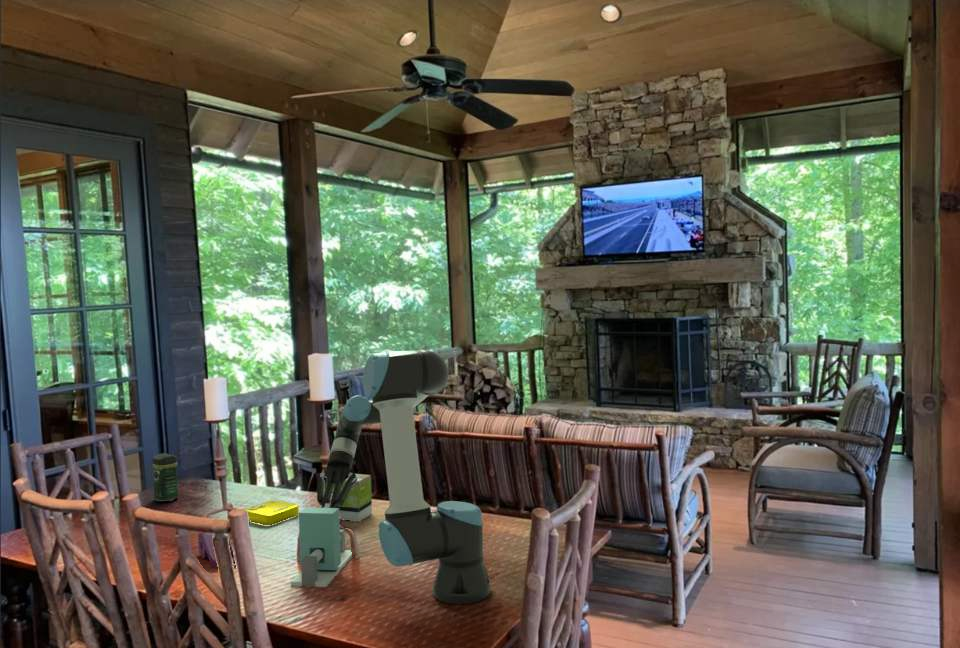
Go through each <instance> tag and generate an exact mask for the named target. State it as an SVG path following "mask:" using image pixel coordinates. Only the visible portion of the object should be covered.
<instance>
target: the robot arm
mask: <svg viewBox="0 0 960 648" xmlns="http://www.w3.org/2000/svg"><path fill="white" fill-rule="evenodd" d="M449 375H450V372H449V368H448V365H447V363H446V361H445V360H444V359H443V358H442V357H441V356H440V355H439V354H438V353H436V352H434V351H431V350H427V349H416V350H394V351H393V350H391V351H389V350H386V351H380V352H374V353H372V354H370V355H369V356H368V358H367V360H366V362H365V364H364V367H363V374H362V388H363V389H362V390H363V391H364V392H363V393H364V395H365V396H362V395H359V394H358V395H357V394H356V395H353V396H351V397H350V398H349V399H348V400H347V402H346V403H345V405H344V408H343V410H342V412H341V414H340V416H339V419H338V421H337V427H336V430H335V431H336V432H335V435H334V438H333V443H332V445H331V448H330V453H329V457H328V460H327V463H326V464H327V465H326V467H325V469H323V472H320V473H318V472H317V473H316V474H315V477H316V480H317V482H316V483H317V484H316V485H317V487H316V492H317V493H316V501H317V503H318V505H319V506H321V507H320V508H336V507H337V506H339V505H340V506H342V505H343V503H344V501H345V499H346V497H347V495H348V493H349V491H350V489H351V487H352V485H353V484H354V483H355V482H356V481H357V477H356V475H355V474H356V473H353V472H352V467H353V463H354V458H355V455H356V452H357V451H356V450H357V448H358V447H357V446H358V443H359V438H360V435H361V432H362V430H363V428H364V425H365V426H367V425H376V424H380V426H381V427H380V428H381V436H382V445H383V454H384V455H383V456H384V463H385V473H386V481H387V490H388V499H389V505H388V507H387V508H386V510H385V511H384V518H385V519H383V520H382V521H380V522H379V524H378V537H379V543H380V547H381V549H382V552H383V554H384V556H385V558H386V560H387V561H388V563H389V564H390V565H391V566H393V567H397V568H398V567H406V566H409V567H410V566H413V565H415V564H420V563H426V562H430V561H434V560H438V566H437V570H436V575H435V578H434V581H433V584H432V594H433V597H434V598H435V599H436V600H438V601H440V602H442V603H446V604H449V605H450V604H451V605H452V604H453V605H466V604H467V605H468V604H473V603H477V602H480V601H483V600H485V599H486V598H488V597H489V596H490V595H491V592H492V591H491V590H492V588H491V587H492V586H491V585H492V584H491V581H490V578H489V574H488V571H487V569H486V565H485V563H484V536H483V535H484V532H483V531H484V529H483V526H484V523H483V515H482V511H481V508H480V507H479V506H477V505H476V504H473V503H469V502H465V501H464V502H463V501H455V500H449V501H448V500H447V501H441V502H440V503H438V504H437V506H436V511H435V510H434V511H432V510H431V505H430V504H429V503H428V502H426V501H425V499H424V492H423V484H422V477H421V469H420V467H421V466H420V460H419V458H420V457H419V451H418V443H417V435H416V427H415V426H416V425H415V417H414V412H415V411H414V409H415V408H416V406H418V405H420V403H422V402H423V401H424V400H426V398H427V397H430V396H434V395H437V394H438V393H440V391H442V390H443V388H444V387H445V386H446V385H447V383H448V380H449ZM325 477H326V478H327V486H326V490H325V493H324V497H323V491H324V483H323V481H324V478H325ZM347 478H348V479H347ZM346 479H347V481H346V483H345V485H344V487H343V489H342V491H341V487H342V486H343V482H344V481H345V480H346ZM334 485H335V487H334ZM333 487H334V491H333V495H332V499H331V501H330V498H331V494H332V490H333ZM340 491H341V493H340ZM329 502H331V504H329Z"/></svg>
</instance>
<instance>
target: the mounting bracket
mask: <svg viewBox="0 0 960 648" xmlns="http://www.w3.org/2000/svg"><path fill="white" fill-rule="evenodd" d="M197 539H198V540H197V544H198V545H197V546H198V551H199V554H200V555H199V556H201V555H202V556H203V557H204V559H206V558H205V557H209V558H208V559H209V562H210V564H211V565H212V566H214V567H215V568H217V563H216V559H215V554H214V549H213V543H212V535H207V534H201V533H199V532H198V537H197ZM229 545H230V550H231V553H230V555H231V554H232V555H231V558H232V559H233V563H234V564H235V560H234V555H233V550H232V546H231V542H230V539H229Z"/></svg>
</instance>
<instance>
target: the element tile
mask: <svg viewBox="0 0 960 648" xmlns="http://www.w3.org/2000/svg"><path fill="white" fill-rule="evenodd" d="M244 509H245V510H247V512H248V516H249V523H248V524H251V523H250V520H251V522H255V523H260V524H263V525H272V524H275V523H278V522H280V521H283V520H286V519H288V518H291V517H294V516H296V515H298V514H299V505H298V504H297V503H292V502H286V501H281V500H278V499H277V500H276V499H271V500H267V501H264V502H261V503H258V504H255V505H252V506H248V507H246V508H244Z"/></svg>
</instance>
